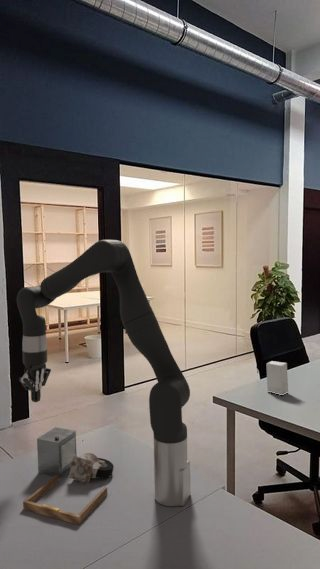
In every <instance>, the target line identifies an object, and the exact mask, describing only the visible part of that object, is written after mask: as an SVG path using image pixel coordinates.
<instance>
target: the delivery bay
mask: <svg viewBox="0 0 320 569" xmlns="http://www.w3.org/2000/svg"><path fill="white" fill-rule="evenodd" d="M58 483H59V478H58V476H54V477H52V478H50V479H49V480H48V481H47V482H46V483H44V484H43V485H42V486H41V487H39V488H38V489H37V490H36V491H35V492H33V493H32V494H31V495H30V496H29V495H28V497H27V498H26V499H24V500H23V501H22V508H23V510H26V511H29V512H33V513H36V514H40V515H43V516H46V517H51V518H53V519H57V520H60V521H64V522H66V523H67V522H68V523H70V524H74V525H77V526H80V525H81V523H82V522H83V521H84V520H85V519H86V518H87V517H88V516H89V515H90V514H91V512H93V510H95V509H96V507H97V506H99V504H100V503H101V502H103V501H102V500H104V499H105V498H106V496H107V495H108V487H107V486H104V487H103V488H102V489H101V490H100V491H99V492H98V493H97V494H96V495H95V496H94V497H93V498H92V499H91V501H89V502H88V503H87V505H86V506H85V507H83V509H82V510H81V511H80V512H79V513H78V514H77V513H74V512H69V511H66V510H62V509H60V507H55V506H52V505H50V504H42V503H37V501H38V500H39V499H41V497H43V496H44V495H46V493H47V492H49V490H51V489H52V488H54V486H56V485H57V484H58Z"/></svg>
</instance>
